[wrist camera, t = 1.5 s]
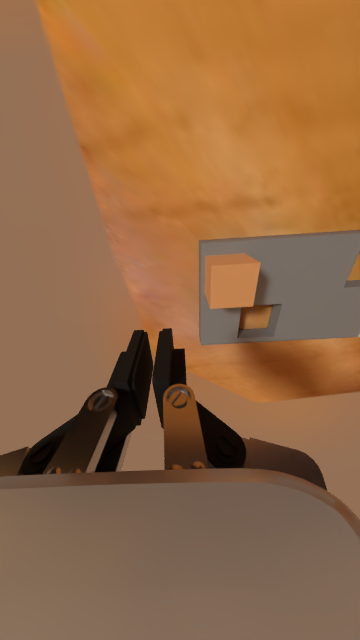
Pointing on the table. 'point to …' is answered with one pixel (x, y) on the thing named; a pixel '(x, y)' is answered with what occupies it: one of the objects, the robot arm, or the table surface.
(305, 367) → the table surface
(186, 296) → the table surface
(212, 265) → the block
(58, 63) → the table surface
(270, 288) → the plate
